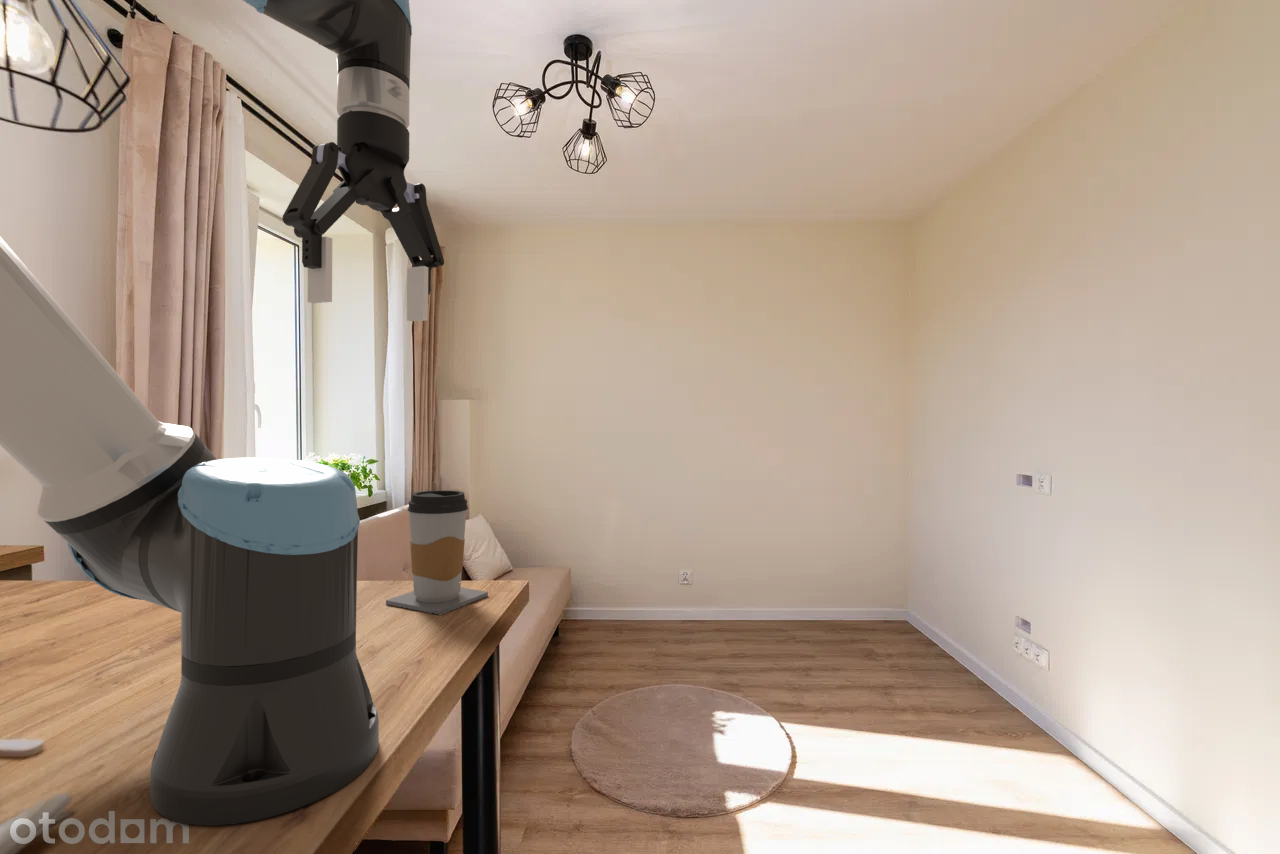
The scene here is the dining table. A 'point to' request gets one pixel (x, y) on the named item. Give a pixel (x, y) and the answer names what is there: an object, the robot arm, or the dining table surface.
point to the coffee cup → (437, 543)
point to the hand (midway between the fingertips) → (372, 312)
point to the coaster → (437, 607)
